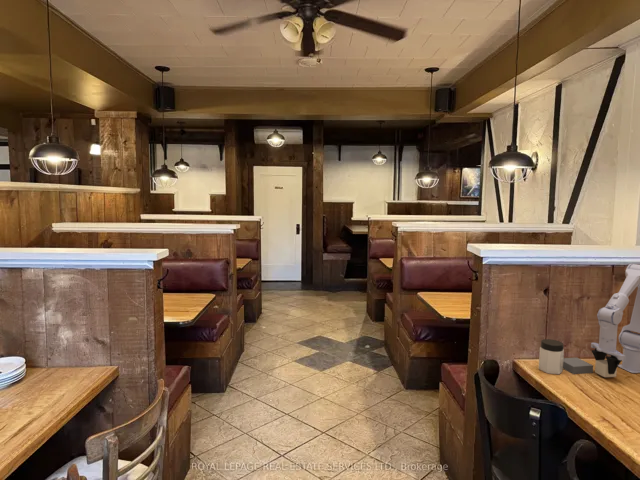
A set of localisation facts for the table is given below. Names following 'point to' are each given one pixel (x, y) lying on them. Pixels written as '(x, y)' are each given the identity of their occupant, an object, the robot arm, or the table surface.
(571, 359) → the charcoal base
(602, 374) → the cream cube
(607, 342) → the robot arm
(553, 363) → the jar
